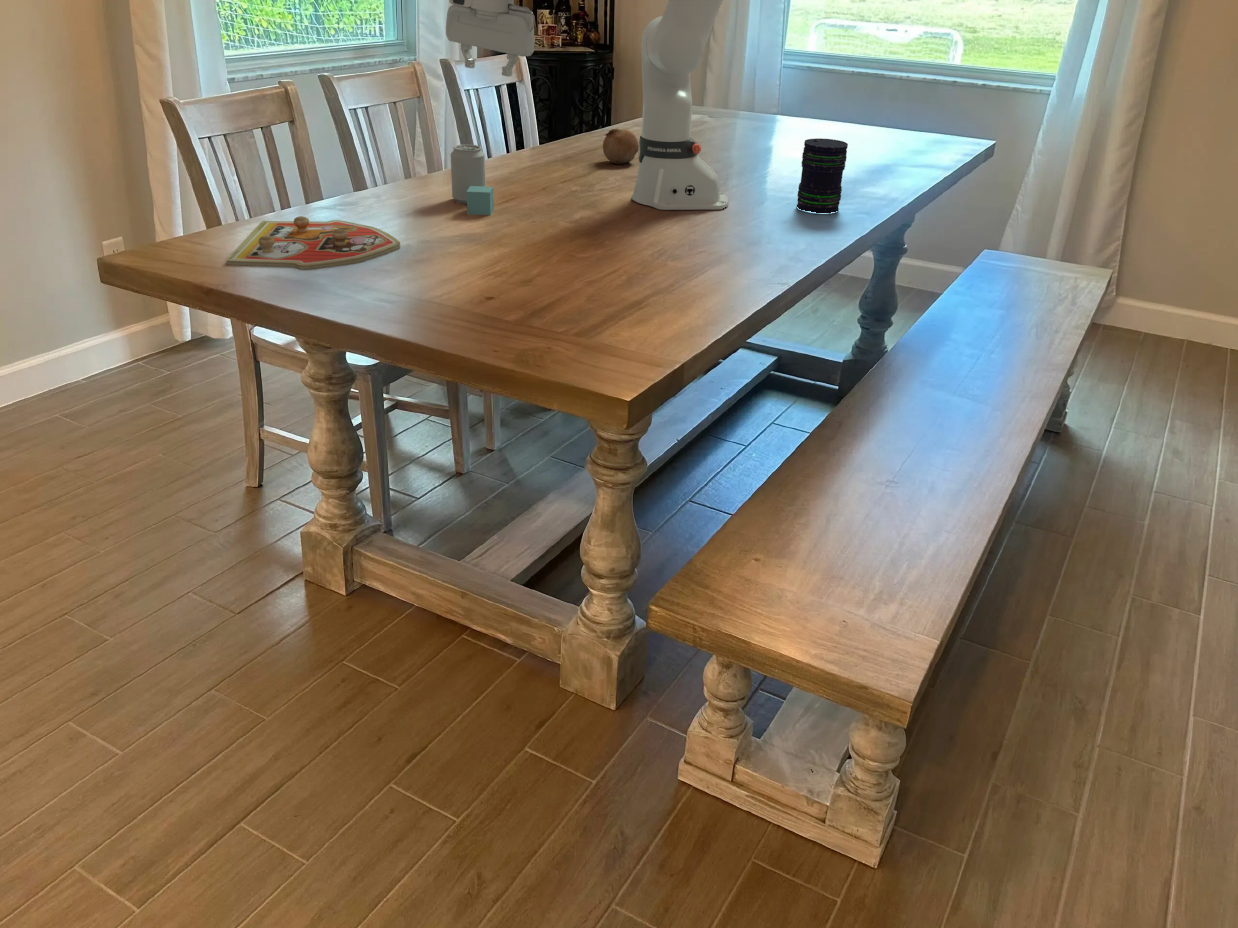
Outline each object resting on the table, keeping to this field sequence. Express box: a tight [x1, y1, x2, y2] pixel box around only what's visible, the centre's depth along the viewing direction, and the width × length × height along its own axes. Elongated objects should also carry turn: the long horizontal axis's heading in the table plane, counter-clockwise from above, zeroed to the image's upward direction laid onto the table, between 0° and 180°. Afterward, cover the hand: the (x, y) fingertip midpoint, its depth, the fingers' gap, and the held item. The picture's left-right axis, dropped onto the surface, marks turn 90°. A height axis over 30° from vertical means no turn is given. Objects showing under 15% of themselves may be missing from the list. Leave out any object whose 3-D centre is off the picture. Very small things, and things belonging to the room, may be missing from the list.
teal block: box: [466, 186, 495, 216], centre depth 217 cm, size 5×5×5 cm
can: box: [450, 143, 486, 205], centre depth 223 cm, size 8×8×12 cm
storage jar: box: [796, 137, 849, 213], centre depth 227 cm, size 10×10×15 cm
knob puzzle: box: [226, 215, 401, 271], centre depth 192 cm, size 29×30×4 cm
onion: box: [602, 128, 639, 165], centre depth 264 cm, size 10×9×10 cm
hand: (488, 71), depth 211 cm, fingers open, 8 cm apart
